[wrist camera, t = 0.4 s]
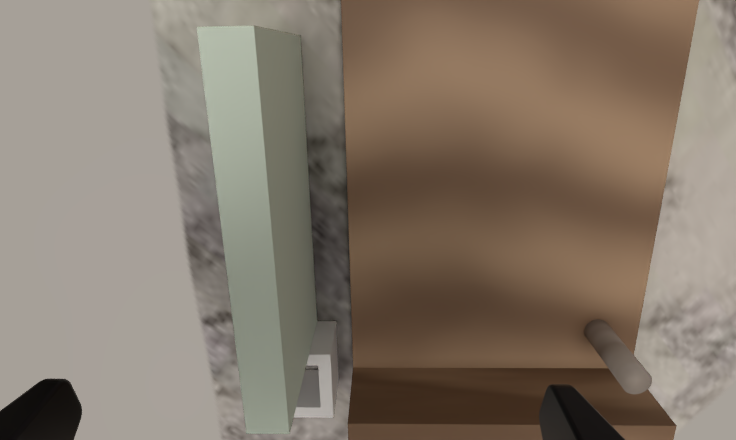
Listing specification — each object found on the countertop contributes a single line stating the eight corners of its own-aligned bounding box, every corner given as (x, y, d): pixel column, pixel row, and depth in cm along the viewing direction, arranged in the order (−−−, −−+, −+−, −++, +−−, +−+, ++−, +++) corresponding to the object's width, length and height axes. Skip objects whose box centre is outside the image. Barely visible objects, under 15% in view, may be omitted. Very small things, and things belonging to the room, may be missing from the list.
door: (338, 379, 27) (321, 507, 19) (273, 378, 27) (230, 506, 19) (323, 35, 21) (289, 24, 13) (240, 36, 21) (160, 27, 14)
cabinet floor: (617, 370, 26) (672, 444, 21) (354, 369, 26) (348, 441, 22) (691, -53, 19) (794, -89, 15) (342, -44, 20) (328, -76, 15)
